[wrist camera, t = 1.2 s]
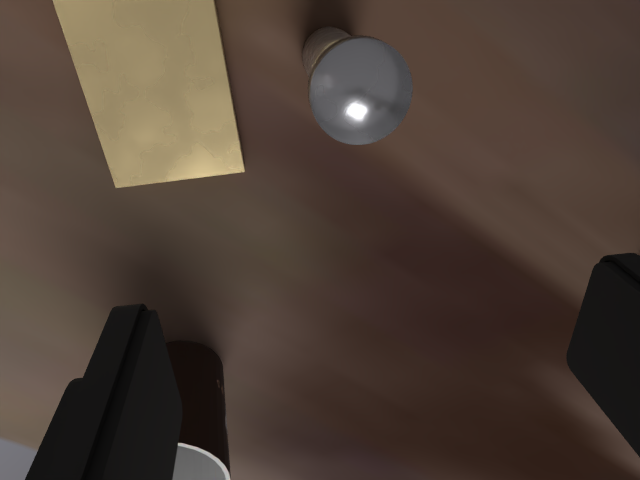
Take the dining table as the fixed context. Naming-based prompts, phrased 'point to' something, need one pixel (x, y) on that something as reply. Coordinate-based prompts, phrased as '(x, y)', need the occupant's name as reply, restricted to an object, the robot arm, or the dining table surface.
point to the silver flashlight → (355, 85)
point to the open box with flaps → (155, 87)
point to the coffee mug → (200, 413)
